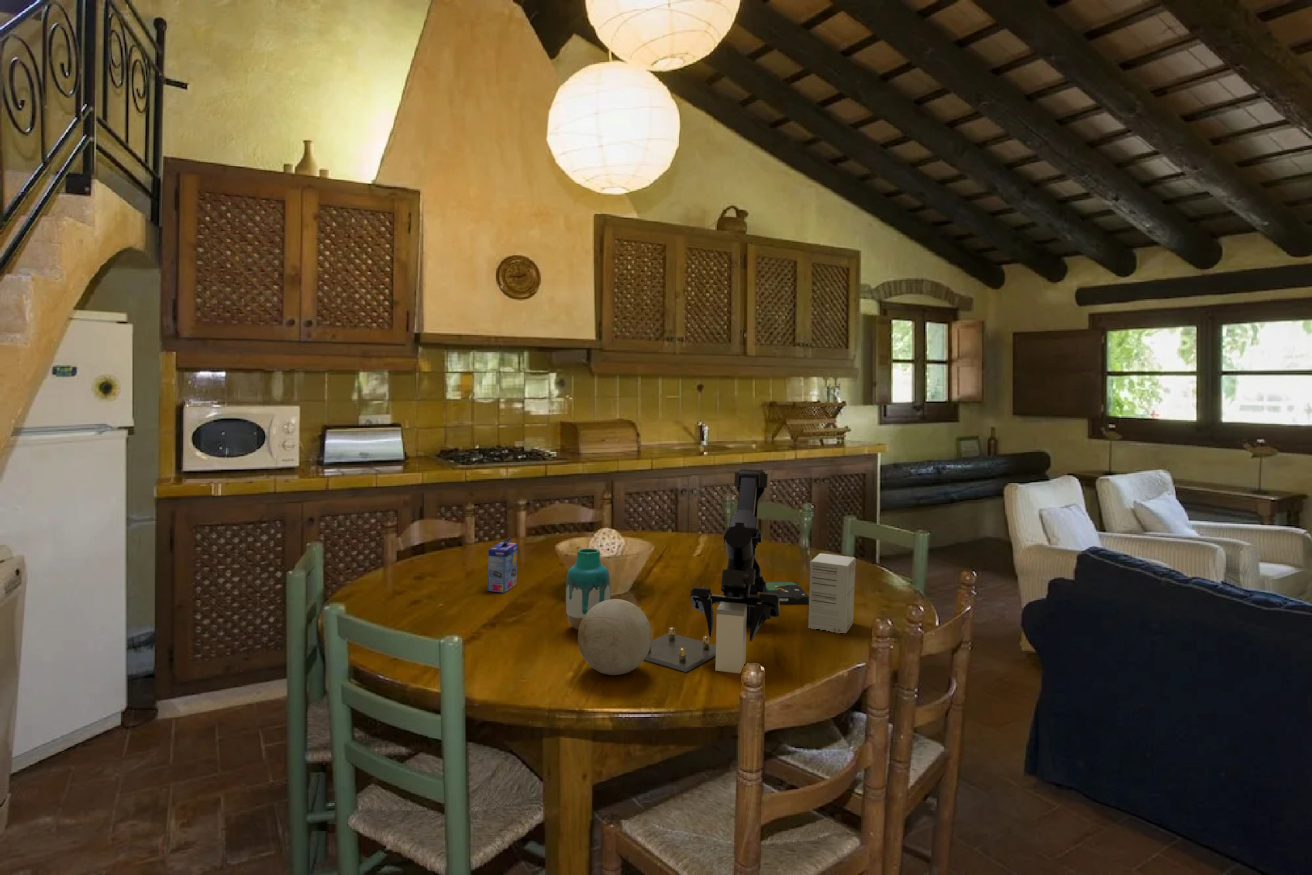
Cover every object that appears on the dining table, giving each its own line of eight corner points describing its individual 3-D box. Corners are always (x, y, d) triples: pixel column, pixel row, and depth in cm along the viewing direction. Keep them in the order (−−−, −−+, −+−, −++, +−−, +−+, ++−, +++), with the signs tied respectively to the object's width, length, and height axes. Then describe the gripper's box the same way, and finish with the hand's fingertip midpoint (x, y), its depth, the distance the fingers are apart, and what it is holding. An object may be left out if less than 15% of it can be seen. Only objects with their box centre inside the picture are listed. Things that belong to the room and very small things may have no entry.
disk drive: (809, 606, 203) (795, 590, 218) (810, 596, 203) (795, 580, 218) (772, 606, 202) (760, 590, 217) (772, 596, 202) (760, 580, 217)
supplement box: (817, 617, 192) (819, 552, 190) (853, 623, 188) (856, 556, 186) (807, 628, 183) (809, 560, 182) (845, 634, 179) (848, 565, 178)
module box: (719, 660, 162) (721, 601, 161) (745, 663, 160) (746, 603, 159) (715, 670, 156) (716, 609, 155) (741, 673, 155) (743, 611, 154)
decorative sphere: (653, 686, 148) (654, 611, 147) (576, 688, 147) (577, 612, 146) (648, 657, 163) (649, 589, 162) (578, 659, 162) (578, 590, 160)
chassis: (668, 636, 176) (668, 622, 176) (723, 651, 167) (724, 636, 167) (628, 655, 164) (628, 639, 164) (686, 672, 155) (686, 655, 155)
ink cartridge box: (505, 593, 209) (505, 541, 208) (486, 592, 210) (486, 540, 209) (518, 583, 219) (518, 534, 218) (500, 582, 220) (499, 533, 218)
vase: (557, 633, 178) (558, 553, 176) (577, 619, 187) (578, 543, 186) (598, 639, 174) (599, 557, 172) (617, 625, 184) (617, 547, 182)
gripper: (692, 549, 163) (680, 615, 153) (780, 556, 158) (773, 624, 148) (699, 576, 171) (688, 640, 161) (782, 583, 166) (776, 649, 157)
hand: (730, 638), depth 157 cm, fingers open, 8 cm apart
